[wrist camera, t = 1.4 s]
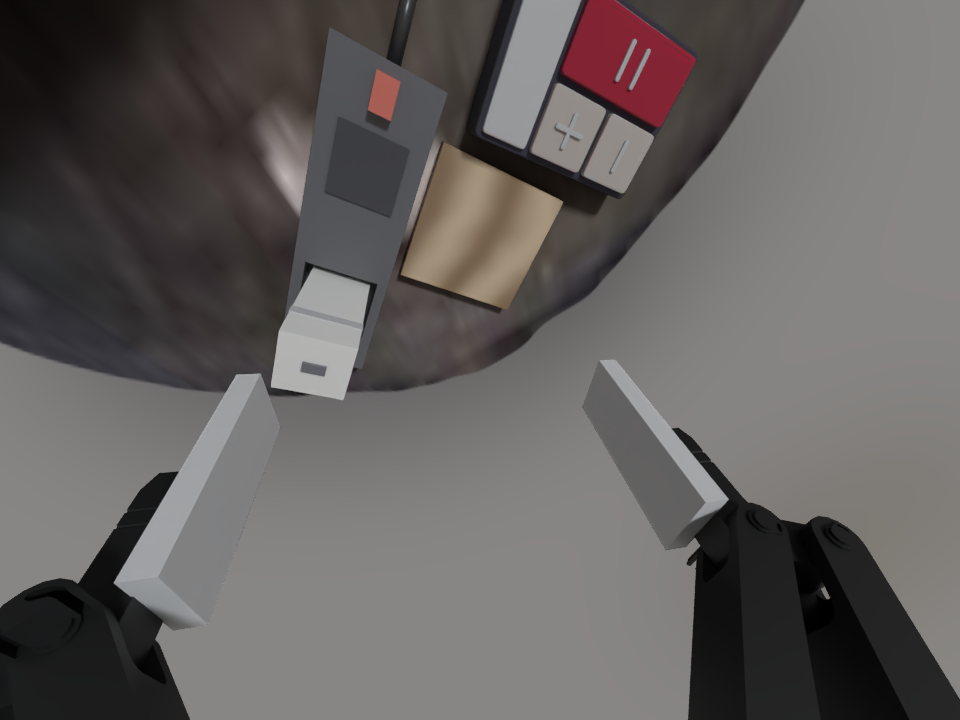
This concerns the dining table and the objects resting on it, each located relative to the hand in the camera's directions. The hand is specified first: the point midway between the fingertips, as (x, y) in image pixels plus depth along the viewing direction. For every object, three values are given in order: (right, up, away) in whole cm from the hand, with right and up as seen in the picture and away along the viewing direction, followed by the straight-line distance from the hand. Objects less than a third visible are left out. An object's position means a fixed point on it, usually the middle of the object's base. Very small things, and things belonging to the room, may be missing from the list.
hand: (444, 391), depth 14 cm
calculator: (+9, +24, +15) cm, 30 cm away
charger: (-13, +8, +20) cm, 25 cm away
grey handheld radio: (-9, +15, +17) cm, 24 cm away
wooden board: (+1, +14, +20) cm, 24 cm away
